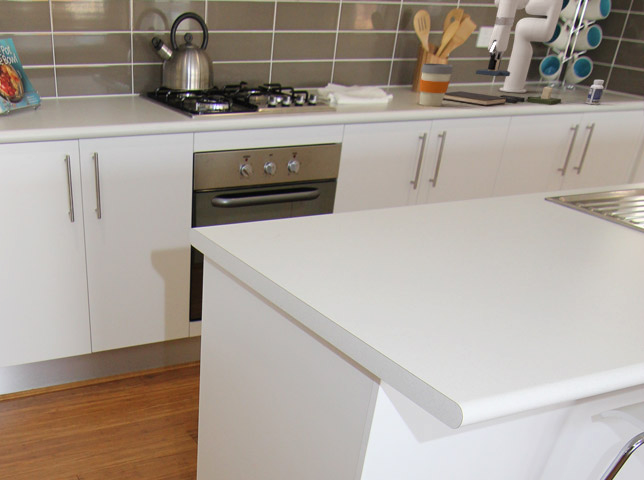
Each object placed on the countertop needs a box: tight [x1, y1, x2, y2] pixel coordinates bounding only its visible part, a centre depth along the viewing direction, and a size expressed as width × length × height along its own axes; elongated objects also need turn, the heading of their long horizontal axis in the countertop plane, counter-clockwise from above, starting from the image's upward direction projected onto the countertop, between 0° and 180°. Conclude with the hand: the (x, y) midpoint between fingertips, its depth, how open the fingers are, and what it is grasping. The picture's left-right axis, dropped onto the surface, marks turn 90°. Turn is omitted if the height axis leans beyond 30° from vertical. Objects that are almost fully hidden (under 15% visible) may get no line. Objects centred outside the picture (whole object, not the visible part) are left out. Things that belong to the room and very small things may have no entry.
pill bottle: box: [585, 79, 605, 106], centre depth 327 cm, size 5×5×10 cm
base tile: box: [497, 94, 526, 104], centre depth 328 cm, size 12×10×2 cm
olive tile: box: [526, 86, 562, 106], centre depth 328 cm, size 12×13×6 cm
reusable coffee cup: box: [419, 62, 454, 107], centre depth 305 cm, size 13×13×15 cm
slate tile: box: [475, 59, 510, 77], centre depth 326 cm, size 12×13×6 cm
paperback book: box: [443, 90, 507, 107], centre depth 321 cm, size 16×23×2 cm
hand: (493, 69), depth 327 cm, fingers closed on slate tile, 3 cm apart
